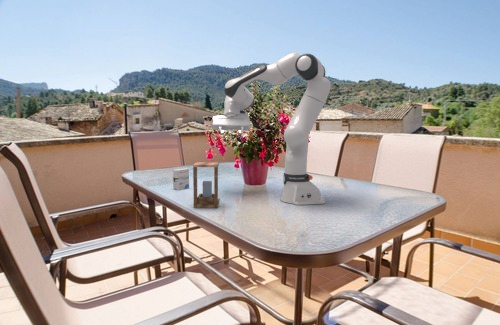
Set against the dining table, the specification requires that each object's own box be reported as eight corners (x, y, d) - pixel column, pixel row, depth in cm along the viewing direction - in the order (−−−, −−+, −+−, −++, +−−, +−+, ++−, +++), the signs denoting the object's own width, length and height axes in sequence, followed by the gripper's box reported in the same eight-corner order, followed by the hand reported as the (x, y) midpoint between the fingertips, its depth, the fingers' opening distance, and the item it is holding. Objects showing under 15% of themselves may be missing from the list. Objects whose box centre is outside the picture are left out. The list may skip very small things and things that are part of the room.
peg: (211, 201, 146) (211, 180, 145) (211, 203, 142) (211, 182, 141) (203, 200, 146) (203, 180, 145) (202, 203, 142) (202, 182, 141)
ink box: (183, 186, 183) (183, 167, 181) (189, 188, 180) (189, 168, 178) (172, 189, 176) (172, 169, 174) (178, 190, 173) (178, 170, 172)
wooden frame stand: (219, 200, 152) (219, 161, 149) (217, 207, 138) (217, 165, 135) (197, 200, 151) (197, 161, 149) (193, 207, 137) (193, 164, 135)
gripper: (212, 111, 161) (210, 129, 153) (250, 111, 162) (250, 130, 153) (213, 119, 166) (211, 137, 158) (249, 120, 167) (250, 138, 158)
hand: (231, 134), depth 155 cm, fingers open, 8 cm apart
